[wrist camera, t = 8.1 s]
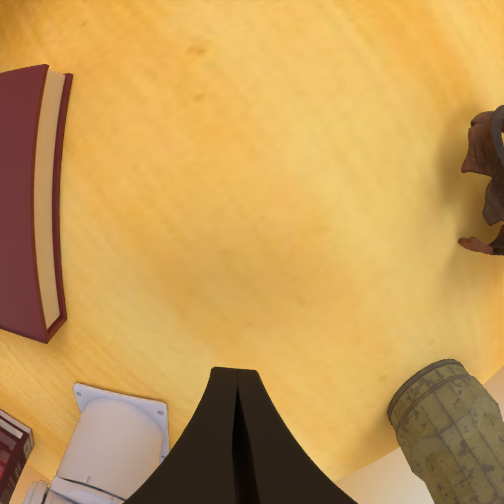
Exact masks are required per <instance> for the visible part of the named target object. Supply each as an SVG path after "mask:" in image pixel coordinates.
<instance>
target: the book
mask: <svg viewBox="0 0 504 504" xmlns="http://www.w3.org/2000/svg"><path fill="white" fill-rule="evenodd" d="M48 68H49V65H47V64H42V65H36V66H31V67H26V68H21V69H16V70H12V71H7V72H3V73H0V329H3V330H6V331H9V332H11V333H14V334H17V335H20V336H23V337H26V338H29V339H32V340H35V341H39V342H42V343H45V344H47V343H48V342H49V341H50V340H51V338H52V337H53V336H54V335H55V333H56V332H57V331H58V330H59V328H60V327H61V326H62V325H63V324H64V322H65V321H66V320H67V315H66V308H65V300H64V291H63V282H62V271H61V257H60V235H59V190H60V169H61V155H62V144H63V135H64V127H65V119H66V112H67V105H68V99H69V94H70V88H71V83H72V78H73V74H71V73H67V74H60V73H58V72H55V71H52V70H49V69H48Z"/></svg>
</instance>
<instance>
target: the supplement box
mask: <svg viewBox="0 0 504 504" xmlns="http://www.w3.org/2000/svg"><path fill="white" fill-rule="evenodd" d="M33 446H34V445H33V438H32V431H31V429H30V428H28V427H27V426H25V425H23V424H22V423H20V422H19V421H17V420H15V419H14V418H12V417H11V416H9V415H8V414H6V413H5V412H3V411H2V410H0V504H9V501H10V499H11V496H12V494H13V492H14V489H15V487H16V484H17V482H18V479H19V477H20V475H21V472H22V470H23V468H24V466H25V464H26V462H27V459H28V457H29V455H30V453H31V451H32V449H33Z"/></svg>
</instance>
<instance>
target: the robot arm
mask: <svg viewBox="0 0 504 504" xmlns="http://www.w3.org/2000/svg"><path fill="white" fill-rule="evenodd" d="M73 390H74V394H75V397H76V401H77V404H78V407H79V410H80V413H81V416H80V419H79V421H78V423H77V425H76V427H75V430H74V432H73V434H72V437H71V439H70V441H69V444H68V446H67V448H66V451H65V453H64V456H63V458H62V460H61V463H60V465H59V468H58V470H57V473H56V475H55V476H54V478H53V480H52V483H51V485H50V488H48V487H47V486H48V483H47V482H45V481H43V480H40V481H39V482H33V483H32V484H31V486H30V487H29V490H28V492H27V494H26V496H25V499H24V501H23V504H358V503H357V502H355V501H354V500H353V499H352V498H351V497H349V496H348V495H347V494H346V493H344V492H343V491H342V490H341V489H340V488H338V487H337V486H336V485H335V484H334V483H333V482H332V481H331V480H330V479H329V478H328V477H327V476H326V475H325V474H324V473H323V472H322V471H321V470H320V469H319V468H318V466H317V465H316V464H315V463H314V462H313V461H312V460H311V459H310V457H309V456H308V455H307V454H306V452H305V451H304V450H303V449H302V447H301V446H300V445H299V443H298V442H297V441H296V439H295V438H294V437H293V435H292V434H291V432H290V431H289V429H288V428H287V426H286V425H285V423H284V421H283V420H282V418H281V417H280V415H279V413H278V412H277V410H276V408H275V406H274V405H273V403H272V401H271V399H270V397H269V395H268V393H267V391H266V389H265V387H264V385H263V383H262V381H261V378H260V376H259V373H258V372H257V371H256V370H248V369H235V368H225V367H214V368H212V369H211V373H210V377H209V381H208V384H207V387H206V389H205V392H204V394H203V396H202V399H201V401H200V403H199V405H198V407H197V409H196V411H195V413H194V415H193V416H192V418H191V420H190V422H189V423H188V425H187V426H186V428H185V430H184V431H183V433H182V435H181V436H180V438H179V439H178V441H177V442H176V444H175V445H174V447H173V448H172V449H171V451H169V433H168V408H167V405H166V404H165V403H163V402H160V401H154V400H148V399H143V398H138V397H133V396H128V395H124V394H119V393H115V392H110V391H106V390H102V389H98V388H94V387H90V386H87V385H83V384H79V383H75V384H74V386H73ZM161 411H162V412H161ZM159 464H160V465H159Z"/></svg>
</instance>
